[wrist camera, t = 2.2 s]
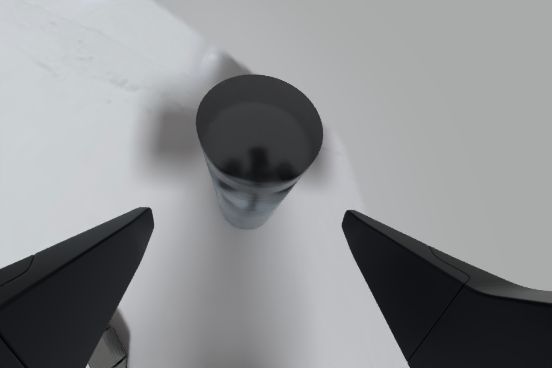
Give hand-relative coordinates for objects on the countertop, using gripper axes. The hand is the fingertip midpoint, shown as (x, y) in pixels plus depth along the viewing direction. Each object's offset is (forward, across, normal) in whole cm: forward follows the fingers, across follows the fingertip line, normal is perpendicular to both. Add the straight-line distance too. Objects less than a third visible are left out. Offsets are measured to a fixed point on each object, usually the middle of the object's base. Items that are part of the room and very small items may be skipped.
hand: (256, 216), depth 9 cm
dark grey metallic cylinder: (+10, 0, +5) cm, 11 cm away
